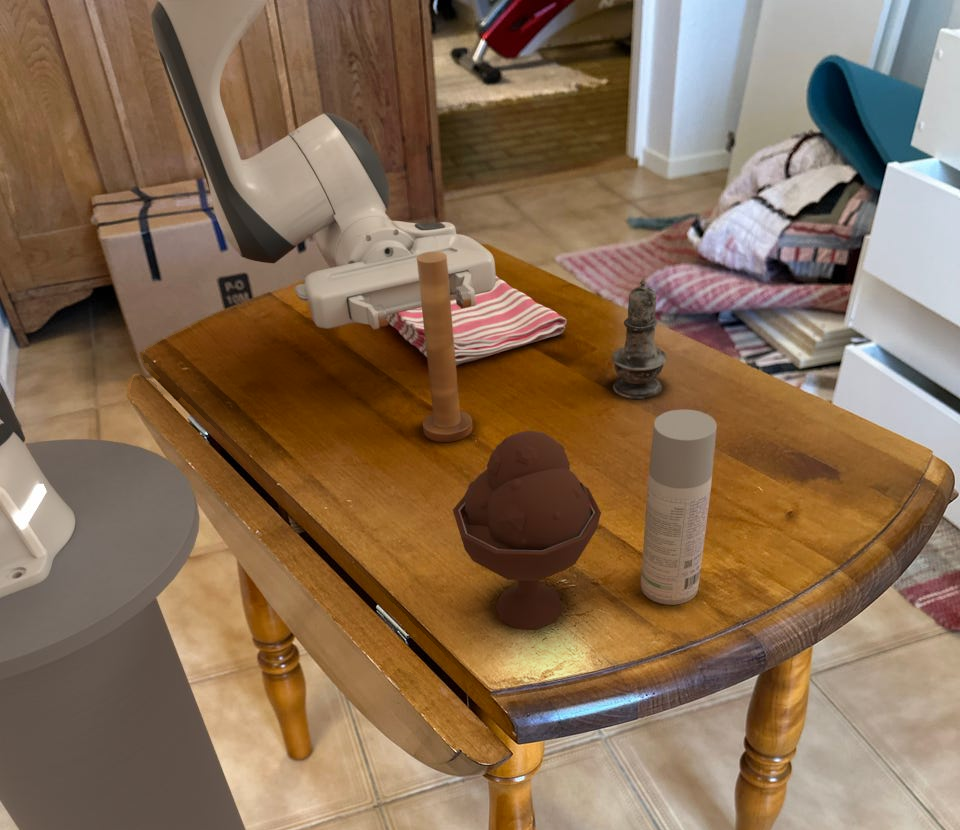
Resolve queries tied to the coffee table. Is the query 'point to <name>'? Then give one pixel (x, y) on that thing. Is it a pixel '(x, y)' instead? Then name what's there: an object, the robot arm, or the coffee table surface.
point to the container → (677, 505)
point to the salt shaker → (639, 348)
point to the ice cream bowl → (527, 524)
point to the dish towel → (487, 323)
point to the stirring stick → (440, 351)
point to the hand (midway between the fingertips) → (425, 310)
